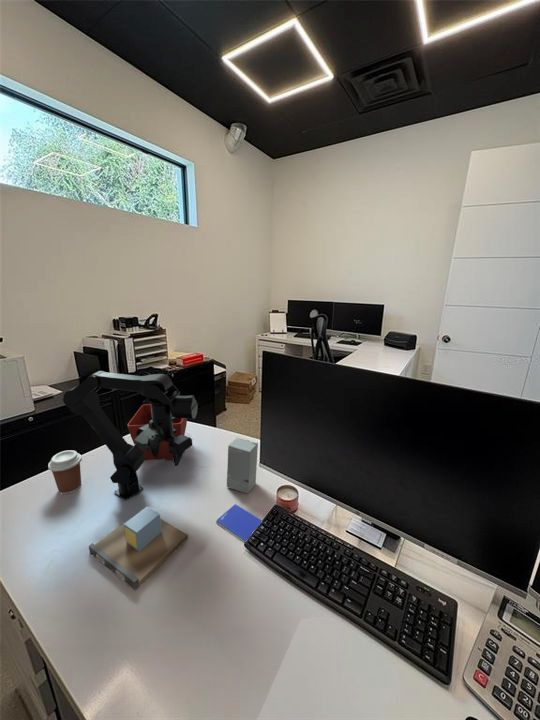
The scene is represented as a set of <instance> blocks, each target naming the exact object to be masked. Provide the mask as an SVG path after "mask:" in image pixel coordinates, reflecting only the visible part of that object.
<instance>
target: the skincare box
mask: <svg viewBox="0 0 540 720" xmlns="http://www.w3.org/2000/svg"><path fill="white" fill-rule="evenodd" d="M258 449H259V443H258V442H255V441H251V440H249V439H245V438H241V437H236V438H235V439H233V440H232V442H230V443H229V444H228V449H227V470H226V471H227V472H226V474H227V475H226V488H228V489H232V490H234V491H238V492H241V493H244V494H249V493H250V492H251V490H252V488H253V487H254V485H255V484H256V480H257V465H258Z"/></svg>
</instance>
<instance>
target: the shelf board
mask: <svg viewBox="0 0 540 720" xmlns="http://www.w3.org/2000/svg"><path fill="white" fill-rule="evenodd" d="M143 509H145V508H142V509H141V510H139V511H138V512H136V513H135V514H134V515H132V516H131V517H130V518H128V519H126V521H124V522H123V523H122V524H120V525H119V526H118V527H116V528H115V529H114V530H112V531H111V532H110V533H108V534H107V535H106V536H105V537H103V538H102V539H100V540H99V541H98V542H96V543H94V542H92V543H90V544H89V545H88V550H89V555H91V556H92V555H93V556H92V557H94V558H95V559H96V560H97V561H98V560H99V561H98V562H99V563H101V564H102V565H104V566H105V567H106V568H107V569H108V570H109V571H111V572H112V573H113V574H114V573H115V574H114V575H115V576H116V577H118V578H119V579H120V580H122V581H123V582H124V583H125V584H127V586H129V587H131V588H132V589H133V590H134V591H137V590H138V589H139V588H140V587H141V586H142V585H143V584H144V583H145V582H146V581H147V580H148V579H149V578H151V576H152V575H153V574H154V573H155V572H156V571H157V570H158V569H159V568H160V567H161V566H162V565H163V564H164V563H165V562H167V560H168V559H169V558H170V557H171V556H172V555H174V553H176V551H178V549H179V548H180V547H181V546H183V544H184V543H186V541H187V540H188V539H189V536H188V533H186V532H184V531H182V530H181V529H179V528H178V527H176V526H174V525H173V524H171V523H169V522H168V521H165V520H164V519H162V518H161V517H160V521H161V531H162V532H161V533H160V534H159V535H158V536H156V537H155V538H154V539H153V540H152V541H151V542H150V543H149V544H147V545H146V546H145V547H144V548H143V549H142V550H141V551H137V550H136V549H135V548H133V547H132V546H130V545H129V544H127V543H126V536H125V529H124V524H125V523H126V522H127V521H129V520H130V519H131V518H133V517H134V516H135V515H137V514H138V513H139V512H141V511H142V510H143Z"/></svg>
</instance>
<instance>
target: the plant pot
mask: <svg viewBox="0 0 540 720" xmlns="http://www.w3.org/2000/svg"><path fill="white" fill-rule="evenodd" d="M150 420H152V413H151V404H142V405H140V407H139V409H138V410H137V411H136V413H134V415H133V417H132V418H131V419H130V420H129V421H128V423H127V429H128V432H129V435H130V437H131V440H132V443H133V446H134V445H135V444H137V443H136V441H135V438H136V437H137V430H138V429H139V428H140V427H143V426H145V425H147V424H149V421H150ZM187 423H188V418H175V421H174V422H173V429H176V433H175V434H173V436H175V437H178V436H180V435H184V436H186V435H185V434H186V429H187ZM168 445H169V442H167V441H162V442H161V443H160V446H159V453H158V457H156V458H155V457H154V455H153V453H152V451H151V450H150V451H145V450H144V449H142V448H140V449H141V450H142V451H143V452H144V456H145V460H144V461H159V460H160V461H162V460H173V455H172V453H170V452H168V451H170V450H169V448H168Z"/></svg>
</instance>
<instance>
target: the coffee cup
mask: <svg viewBox="0 0 540 720" xmlns="http://www.w3.org/2000/svg"><path fill="white" fill-rule="evenodd" d="M82 457H83V456H82V455H81V454H80V453H78V452H77V451H76V450H72V449H71V450H63V451H60V452H58V453H56V454H55V455H53V456H52V457H51V459H50V461H49V462H48V465H47V469H48V470H49V471H50V472H52V474H53V479H54V481H55V484H56V485H55V486H56V487H57V490H58V493H59V492H60V493H62V494H61V495H69V494H68V493H70V494H72V492H73V493H75V492H77V491H79V489H80V488H81V487H82V486H83V485H82V484H81V483H82V475H81V474H82V473H81V462H82V460H83V458H82ZM76 490H77V491H76ZM74 491H75V492H74ZM60 493H59V494H60Z"/></svg>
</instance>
